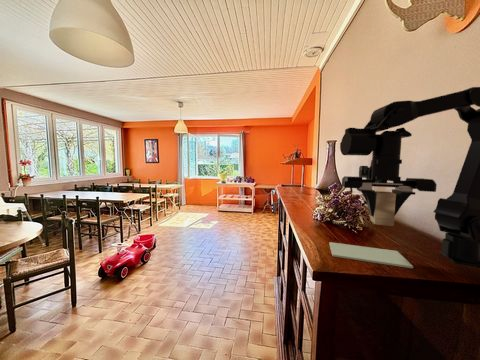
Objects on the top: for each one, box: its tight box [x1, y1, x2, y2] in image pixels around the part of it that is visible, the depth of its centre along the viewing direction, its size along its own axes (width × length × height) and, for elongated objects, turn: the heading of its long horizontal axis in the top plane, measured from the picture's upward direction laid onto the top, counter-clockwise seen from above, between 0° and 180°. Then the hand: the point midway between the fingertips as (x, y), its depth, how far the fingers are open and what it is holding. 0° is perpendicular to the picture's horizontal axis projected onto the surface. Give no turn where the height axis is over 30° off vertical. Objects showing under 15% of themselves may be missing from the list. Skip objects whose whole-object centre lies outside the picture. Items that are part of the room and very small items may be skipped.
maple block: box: [369, 190, 396, 227], centre depth 51 cm, size 4×4×8 cm
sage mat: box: [328, 241, 414, 269], centre depth 53 cm, size 17×9×1 cm, turn 71°
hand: (381, 216), depth 51 cm, fingers closed on maple block, 4 cm apart
